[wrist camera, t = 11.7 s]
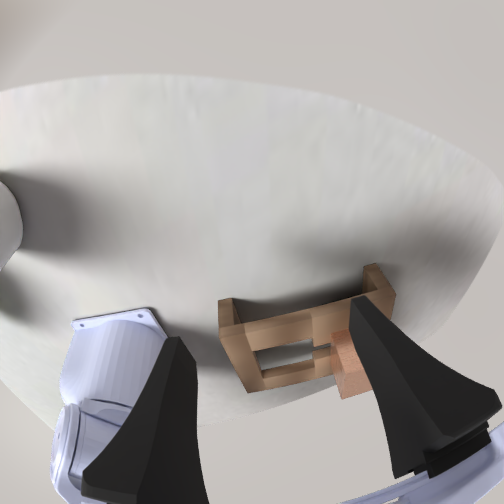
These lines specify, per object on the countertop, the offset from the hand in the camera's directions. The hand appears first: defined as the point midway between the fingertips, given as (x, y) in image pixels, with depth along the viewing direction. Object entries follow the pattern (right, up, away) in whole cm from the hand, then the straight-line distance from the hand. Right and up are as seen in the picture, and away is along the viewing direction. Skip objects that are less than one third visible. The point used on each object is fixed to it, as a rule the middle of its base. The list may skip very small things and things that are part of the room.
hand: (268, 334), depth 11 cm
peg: (+7, -3, +14) cm, 16 cm away
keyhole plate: (+4, -3, +15) cm, 16 cm away
